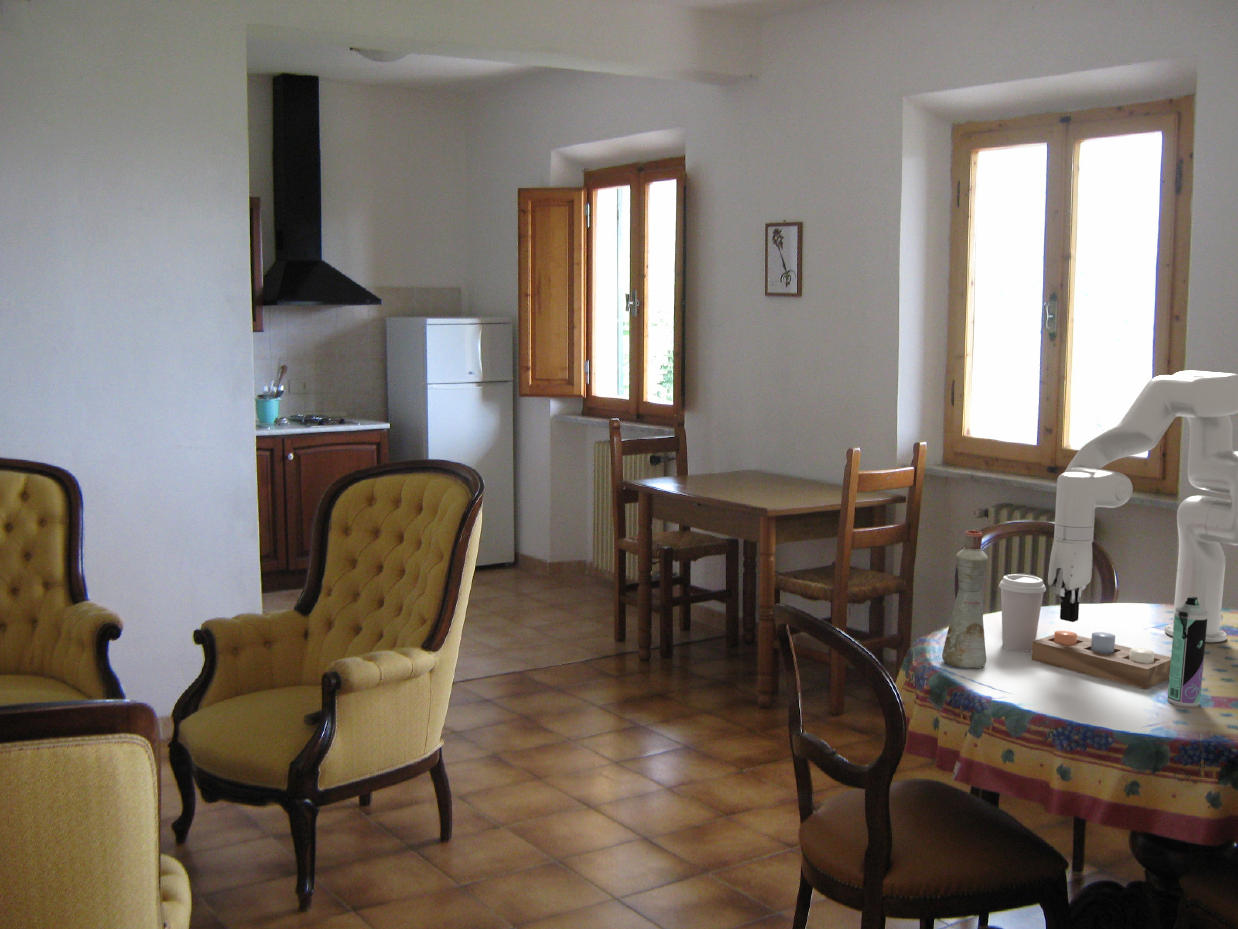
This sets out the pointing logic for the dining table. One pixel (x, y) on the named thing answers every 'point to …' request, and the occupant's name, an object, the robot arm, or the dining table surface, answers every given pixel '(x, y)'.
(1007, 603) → the coffee cup
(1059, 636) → the rust egg
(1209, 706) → the dining table surface
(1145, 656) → the cream cylinder
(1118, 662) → the wooden egg holder
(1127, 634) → the dining table surface
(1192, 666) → the spray can
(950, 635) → the bottle
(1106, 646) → the blue-grey egg
